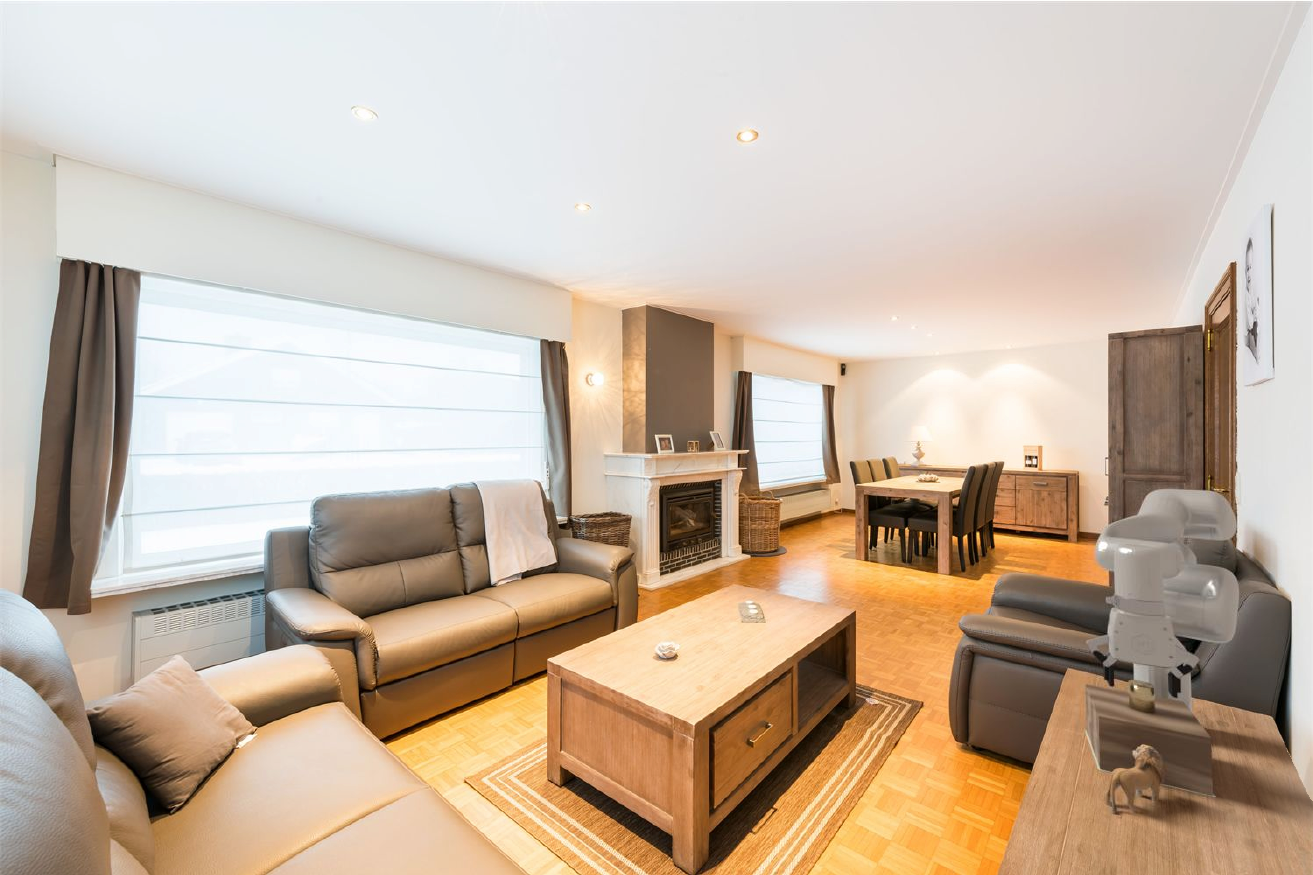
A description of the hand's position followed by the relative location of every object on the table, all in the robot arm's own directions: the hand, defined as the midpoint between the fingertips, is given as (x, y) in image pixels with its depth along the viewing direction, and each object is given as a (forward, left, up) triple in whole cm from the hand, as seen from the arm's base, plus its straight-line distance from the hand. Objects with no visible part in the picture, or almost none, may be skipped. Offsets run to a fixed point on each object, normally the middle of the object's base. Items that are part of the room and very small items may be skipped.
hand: (1141, 689), depth 109 cm
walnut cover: (0, 0, -15) cm, 15 cm away
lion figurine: (+16, -4, -15) cm, 23 cm away
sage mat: (0, 0, -15) cm, 15 cm away
